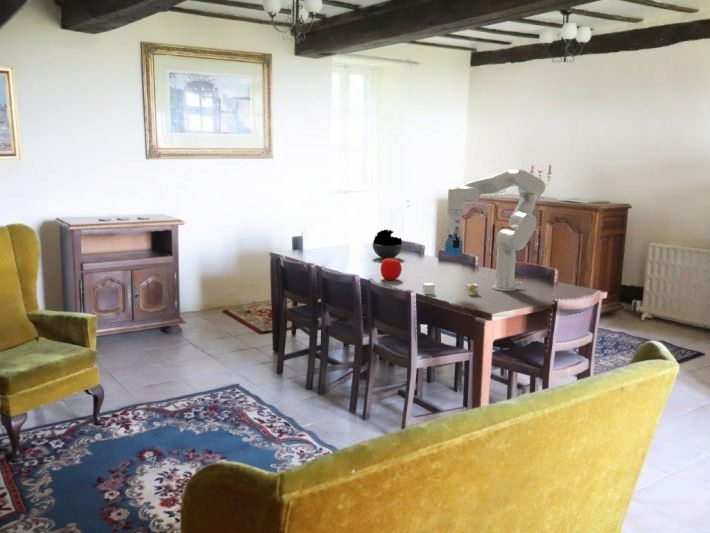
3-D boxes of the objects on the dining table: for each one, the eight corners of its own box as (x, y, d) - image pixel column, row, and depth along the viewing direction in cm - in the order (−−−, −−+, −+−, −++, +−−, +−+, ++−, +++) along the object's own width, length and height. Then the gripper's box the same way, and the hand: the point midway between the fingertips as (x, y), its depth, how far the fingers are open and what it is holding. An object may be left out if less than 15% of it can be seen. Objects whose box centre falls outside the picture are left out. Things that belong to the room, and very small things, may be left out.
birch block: (475, 292, 327) (475, 283, 326) (478, 295, 322) (478, 285, 322) (465, 293, 327) (466, 283, 326) (468, 295, 322) (469, 285, 321)
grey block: (432, 292, 327) (432, 282, 326) (434, 294, 322) (434, 285, 321) (422, 292, 326) (423, 282, 325) (424, 294, 321) (425, 285, 320)
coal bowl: (389, 255, 433) (390, 227, 429) (408, 259, 417) (409, 231, 413) (366, 257, 421) (366, 229, 418) (384, 262, 405) (385, 233, 402)
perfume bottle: (451, 252, 327) (452, 229, 324) (462, 254, 323) (463, 230, 321) (445, 254, 322) (445, 230, 320) (455, 255, 318) (456, 231, 316)
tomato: (383, 276, 362) (384, 254, 360) (403, 278, 358) (404, 256, 356) (377, 281, 351) (377, 258, 348) (397, 282, 347) (398, 260, 344)
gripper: (467, 214, 310) (465, 249, 314) (457, 210, 327) (456, 243, 331) (452, 214, 310) (450, 249, 313) (443, 210, 326) (442, 243, 330)
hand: (453, 246), depth 322 cm, fingers closed on perfume bottle, 9 cm apart
